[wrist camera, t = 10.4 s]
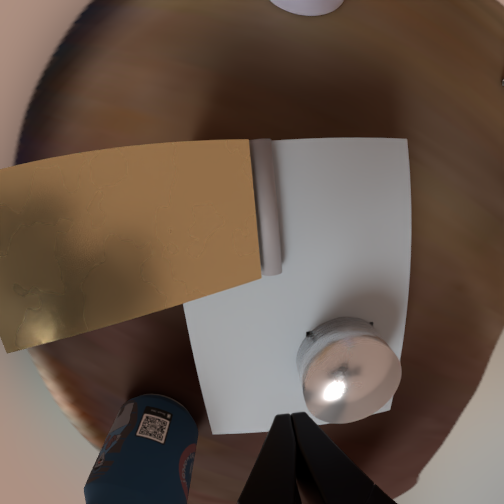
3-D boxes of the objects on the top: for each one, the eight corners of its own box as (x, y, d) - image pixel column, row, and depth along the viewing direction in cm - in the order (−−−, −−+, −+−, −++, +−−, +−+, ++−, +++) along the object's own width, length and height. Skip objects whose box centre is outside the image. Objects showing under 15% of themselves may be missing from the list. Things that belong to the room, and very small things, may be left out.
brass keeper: (253, 275, 14) (261, 278, 14) (8, 346, 8) (6, 353, 8) (240, 141, 13) (248, 139, 12) (-30, 180, 7) (-34, 179, 6)
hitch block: (367, 371, 22) (395, 419, 16) (218, 389, 22) (211, 444, 16) (370, 146, 18) (416, 137, 12) (183, 159, 18) (156, 152, 12)
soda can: (192, 448, 24) (174, 554, 12) (122, 427, 24) (81, 525, 12) (207, 401, 23) (189, 528, 11) (126, 376, 22) (69, 488, 10)
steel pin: (354, 344, 21) (393, 412, 14) (287, 353, 21) (304, 430, 14) (356, 281, 20) (408, 335, 12) (284, 290, 20) (304, 353, 13)
